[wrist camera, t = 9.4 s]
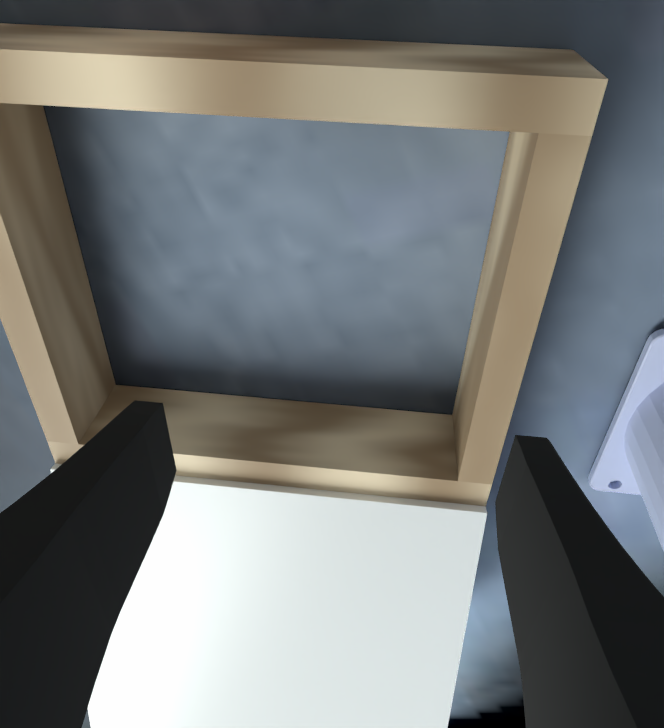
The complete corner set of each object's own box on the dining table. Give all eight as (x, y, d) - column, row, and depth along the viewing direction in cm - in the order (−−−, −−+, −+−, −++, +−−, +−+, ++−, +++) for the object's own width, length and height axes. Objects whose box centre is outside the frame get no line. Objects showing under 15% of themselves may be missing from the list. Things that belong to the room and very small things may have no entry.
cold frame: (573, 49, 16) (675, 135, 9) (433, 617, 33) (438, 775, 27) (-19, 22, 17) (-262, 83, 11) (148, 585, 34) (91, 729, 28)
